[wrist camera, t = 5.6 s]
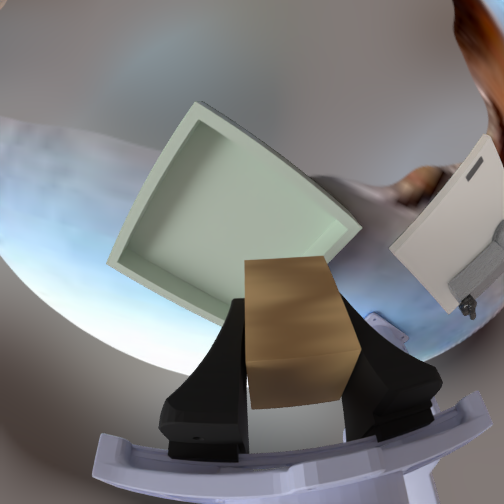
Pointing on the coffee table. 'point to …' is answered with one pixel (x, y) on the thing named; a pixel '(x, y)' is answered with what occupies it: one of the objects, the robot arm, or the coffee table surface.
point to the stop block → (296, 333)
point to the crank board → (455, 224)
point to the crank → (479, 274)
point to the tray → (222, 215)
